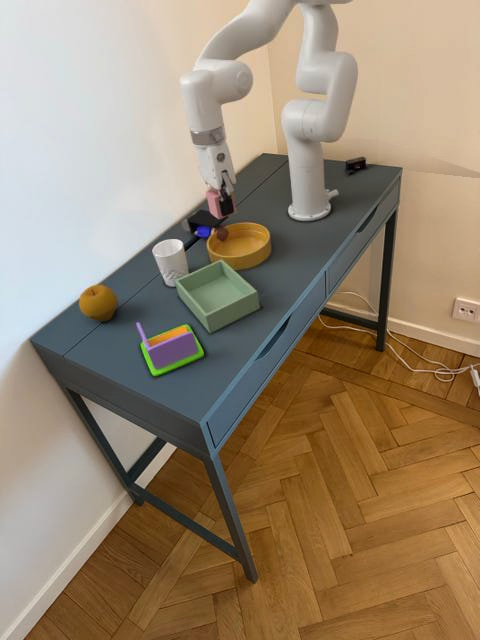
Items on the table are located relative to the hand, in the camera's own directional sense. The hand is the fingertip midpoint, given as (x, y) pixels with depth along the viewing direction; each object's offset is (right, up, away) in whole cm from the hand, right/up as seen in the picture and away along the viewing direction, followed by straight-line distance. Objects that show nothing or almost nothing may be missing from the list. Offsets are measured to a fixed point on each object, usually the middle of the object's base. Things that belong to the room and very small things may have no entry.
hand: (222, 209), depth 112 cm
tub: (-1, -22, 0) cm, 22 cm away
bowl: (+4, -8, +15) cm, 18 cm away
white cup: (-12, -16, +10) cm, 23 cm away
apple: (-29, -26, +3) cm, 39 cm away
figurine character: (-5, -2, +24) cm, 25 cm away
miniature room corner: (-11, -34, -10) cm, 37 cm away
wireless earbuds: (+42, +23, +41) cm, 63 cm away
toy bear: (0, -1, 0) cm, 1 cm away
